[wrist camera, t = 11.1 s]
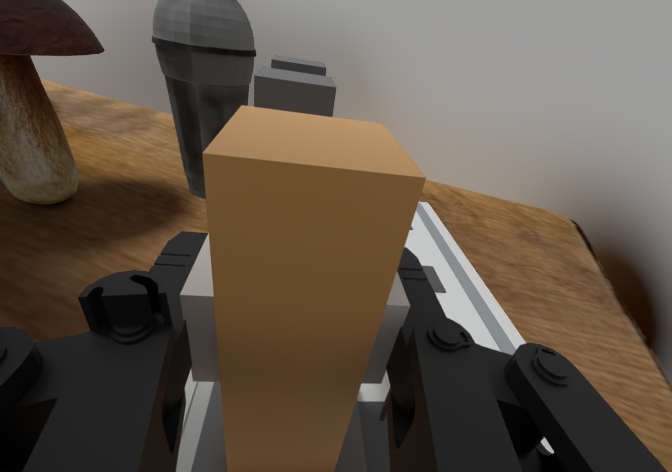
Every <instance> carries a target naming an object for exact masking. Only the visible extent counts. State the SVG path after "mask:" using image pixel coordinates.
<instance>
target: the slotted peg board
mask: <svg viewBox="0 0 672 472" xmlns="http://www.w3.org/2000/svg"><path fill="white" fill-rule="evenodd" d="M325 74H326V66H325V64H324V63H321V62H316V61H309V60H303V59H296V58H290V57H284V56H277V55H276V56H275V57H274V58H272V63H271V68H268V67H263V68H262V69H261V70H260V71H259V72H258V73H257V74H256V75H255V76H254V79H255V80H254V82H255V84H254V107H259V108H267V109H274V110H282V111H289V112H297V113H304V114H312V115H319V116H327V117H332V116H333V108H334V101H335V93H336V86H335V84H334V82H333V80H332V78H331V77H327V76H325ZM405 247H407V248H408V249H409V250H410V251H411V252H412V253H413V254H414V255H415V256H416V257H418V259H419V261H420V263H421V265H422V267H423V272H425V274H426V276H427V278H428V281H429V282H430V284H431V286H432V288H433V290H434V292H435V294H436V296H437V298H438V300H439V302H440V304H441V307H442V309H443V311H444V313H445V315H446V317H447V318H449V319H451V320H453V321H455V322H457V323H458V324H460V325H461V326H463V327H464V328H465V329H466V330H467V331H468V332H469V333H470V335H471V336H472V338H473V340H474V341H475V343H476V344H479V345H481V346H484V347H487V348H490V349H494V350H497V351H500V352H504V353H507V354H510V355H513V354H514V353H515V351H516V350H517V348H518V347H519V345H522V344H525V341H524V340H523V338H522V337H521V335H520V334H519V332H518V331H517V330H516V328H515V327H514V325H513V324H512V322H511V321H510V320H509V318H508V317H507V315H506V314H505V312H504V311H503V310H502V308H501V307H500V305H499V304H498V302H497V301H496V300H495V298H494V297H493V295H492V294H491V292H490V291H489V289H488V288H487V287H486V285H485V284H484V282H483V281H482V279H481V278H480V277H479V275H478V274H477V272H476V271H475V269H474V268H473V267H472V265H471V264H470V262H469V261H468V259H467V258H466V256H465V255H464V254H463V252H462V251H461V249H460V248H459V246H458V245H457V244H456V242H455V241H454V239H453V238H452V236H451V235H450V234H449V232H448V231H447V229H446V228H445V226H444V225H443V223H442V222H441V221H440V219H439V218H438V216H437V215H436V213H435V212H434V211H433V209H432V208H431V206H430V205H429V203H426V202H418V205H417V208H416V212H415V215H414V218H413V221H412V224H411V228H410V231H409V234H408V237H407V240H406V244H405ZM213 384H214V382H193V379H192V372H191V370H190V373H189V376H188V379H187V382H186V385H185V395H186V407H185V414H184V420H183V427H182V434H181V441H180V447H179V454H178V461H177V467H176V472H191V469H192V465H193V461H194V457H195V453H196V449H197V446H198V442H199V438H200V434H201V430H202V426H203V422H204V418H205V415H206V411H207V407H208V403H209V399H210V395H211V391H212V388H213ZM389 389H390V383H389V379H388V374H387V370H386V373H385V375H384V378H383V381H382V383H381V384H361V387H360V390H359V394H358V397H357V400H358V407H359V415H360V422H361V429H362V436H363V443H364V451H365V458H366V465H367V472H390V457H389V441H388V426H387V414H386V416H385V419H384V421H380V420H379V418H380V411H381V409H382V406H383V404H384V401H385V399H386V396H387V394H388V391H389ZM541 443H542V444H543V446H544V447H545V448H546V449H547V450H548V451H549V452H551V453H554V451H553V449H552V448H551V446H550V445H549V443H548V442H547V440H546V439H545V438H544V439H543V440H542V441H541Z"/></svg>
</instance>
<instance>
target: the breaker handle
mask: <svg viewBox="0 0 672 472" xmlns="http://www.w3.org/2000/svg"><path fill="white" fill-rule="evenodd" d="M203 166H204V179H205V192H206V205H207V218H208V231H209V243H210V256H211V269H212V282H213V295H214V308H215V321H216V333H217V346H218V359H219V372H220V382H214V384H213V388H212V391H211V395H210V399H209V403H208V407H207V411H206V415H205V418H204V422H203V426H202V430H201V434H200V438H199V442H198V446H197V449H196V453H195V457H194V461H193V465H192V469H191V472H367V465H366V458H365V451H364V443H363V436H362V429H361V422H360V415H359V407H358V400H357V397H358V394H359V390H360V387H361V384H362V381H363V378H364V374H365V371H366V368H367V365H368V362H369V358H370V355H371V352H372V349H373V346H374V342H375V339H376V336H377V333H378V330H379V327H380V323H381V320H382V317H383V314H384V311H385V307H386V304H387V301H388V298H389V295H390V291H391V288H392V285H393V282H394V279H395V275H396V272H397V269H398V266H399V263H400V260H401V256H402V253H403V250H404V247H405V244H406V240H407V237H408V234H409V231H410V228H411V224H412V221H413V218H414V215H415V212H416V208H417V205H418V202H419V199H420V196H421V192H422V189H423V186H424V183H425V180H426V177H425V176H424V175H423V173H422V172H421V171H420V170H419V168H418V167H417V166H416V165H415V163H414V162H413V161H412V160H411V158H410V157H409V156H408V155H407V153H406V152H405V151H404V150H403V148H402V147H401V146H400V145H399V143H398V142H397V141H396V140H395V138H394V137H393V136H392V135H391V133H390V132H389V131H388V130H387V128H386V127H385V126H384V125H383V124H379V123H372V122H364V121H356V120H349V119H342V118H334V117H327V116H319V115H312V114H304V113H297V112H289V111H282V110H274V109H267V108H259V107H252V106H244V105H241V107H240V108H239V109H238V110H237V112H236V113H235V114H234V115H233V116H232V118H231V119H230V120H229V121H228V123H227V124H226V125H225V126H224V127H223V129H222V130H221V131H220V132H219V134H218V135H217V136H216V137H215V138H214V140H213V141H212V142H211V143H210V145H209V146H208V147H207V148H206V149H205V151H204V152H203Z"/></svg>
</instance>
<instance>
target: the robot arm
mask: <svg viewBox="0 0 672 472" xmlns="http://www.w3.org/2000/svg"><path fill="white" fill-rule="evenodd" d="M78 299H79V302H80V304H81V307H82V309H83V312H84V315H85V317H86V320H87V323H88V325H89V328H90V330H91V331H90V332H86V333H82V334H79V335H75V336H70V337H65V338H59V339H54V340H49V341H44V342H39V343H34V341H33V339H32V338H31V336H30V335H29V334H28V333H27V331H24V330H21V329H18V328H14V327H6V328H0V472H176V467H177V461H178V454H179V447H180V441H181V434H182V427H183V420H184V414H185V407H186V395H185V385H186V382H187V379H188V376H189V373H190V370H191V372H192V379H193V382H220V372H219V359H218V346H217V333H216V321H215V308H214V295H213V282H212V269H211V256H210V243H209V233H197V232H184V231H182V232H181V233H179V234H178V235H177V236H175V237H174V238H172V239H171V240H169V241H168V242H167V244H166V246H165V247H164V249H163V250H162V252H161V255H160V256H158V258H157V260H156V261H155V263H154V266H152V267H151V269H150V271H149V272H147V271H135V270H133V271H126V272H118V273H115V274H112V275H109V276H106V277H103V278H101V279H99V280H98V281H96V282H94V283H93V284H91V285H89V286H88V287H87V288H86V289H85V290H84V291H83V292H82V293H81V294H80V295H79V296H78ZM386 370H387V374H388V379H389V383H390V389H389V391H388V394H387V396H386V399H385V401H384V404H383V406H382V409H381V411H380V418H379V420H380V421H384V419H385V416H386V414H387V426H388V441H389V457H390V472H667V470H666V469H665V468H664V467H663V466H662V465H661V464H660V463H659V461H658V460H657V459H656V458H655V457H654V456H653V455H652V453H651V452H650V451H649V450H648V449H647V448H646V447H645V445H644V444H643V443H642V442H641V441H640V440H639V439H638V437H637V436H636V435H635V434H634V433H633V432H632V431H631V430H630V428H629V427H628V426H627V425H626V424H625V423H624V422H623V420H622V419H621V418H620V417H619V416H618V415H617V414H616V412H615V411H614V410H613V409H612V408H611V407H610V406H609V404H608V403H607V402H606V401H605V400H604V399H603V398H602V397H601V395H600V394H599V393H598V392H597V391H596V390H595V389H594V387H593V386H592V385H591V384H590V383H589V382H588V381H587V379H586V378H585V377H584V376H583V375H582V374H581V373H580V371H579V370H578V369H577V368H576V367H575V366H574V365H573V364H572V363H571V362H570V361H568V360H567V359H566V358H565V357H564V356H562V355H561V354H559V353H558V352H556V351H554V350H553V349H551V348H548V347H546V346H543V345H540V344H535V343H525V344H522V345H519V347H518V348H517V350H516V351H515V353H514V354H513V355H510V354H507V353H504V352H500V351H497V350H494V349H490V348H487V347H484V346H481V345H479V344H476V343H475V341H474V340H473V338H472V336H471V335H470V333H469V332H468V331H467V330H466V329H465V328H464V327H463V326H461V325H460V324H458V323H457V322H455V321H453V320H451V319H449V318H447V317H446V315H445V313H444V311H443V309H442V307H441V304H440V302H439V300H438V298H437V296H436V294H435V292H434V290H433V288H432V286H431V284H430V282H429V281H428V278H427V276H426V274H425V272H423V267H422V265H421V263H420V261H419V259H418V257H416V256H415V255H414V254H413V253H412V252H411V251H410V250H409V249H408V248H407V247H404V250H403V253H402V256H401V260H400V263H399V266H398V269H397V272H396V275H395V279H394V282H393V285H392V288H391V291H390V295H389V298H388V301H387V304H386V307H385V311H384V314H383V317H382V320H381V323H380V327H379V330H378V333H377V336H376V339H375V342H374V346H373V349H372V352H371V355H370V358H369V362H368V365H367V368H366V371H365V374H364V378H363V381H362V384H381V383H382V381H383V378H384V375H385V373H386ZM544 438H545V439H546V440H547V442H548V443H549V445H550V446H551V448H552V449H553V451H554V453H551V452H549V451H548V450H547V449H546V448H545V447H544V446H543V444H542V443H541V441H542V440H543V439H544Z"/></svg>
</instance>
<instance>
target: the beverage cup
mask: <svg viewBox="0 0 672 472" xmlns="http://www.w3.org/2000/svg"><path fill="white" fill-rule="evenodd" d="M153 34H154V35H153V36H152V42H153V43H155V47H156V53H157V57H158V60H159V63H160V66H161V70H162V72H163V74H164V75H165V79H166V85H167V89H168V94H169V99H170V104H171V108H172V113H173V118H174V123H175V128H176V133H177V137H178V142H179V147H180V152H181V157H182V161H183V166H184V171H185V174H186V177H187V181H188V184H189V190H190V192H191V193H193V194H194V195H197V196H199V197H203V198H206V192H205V179H204V166H203V152H204V151H205V149H206V148H207V147H208V146H209V145H210V143H211V142H212V141H213V140H214V138H215V137H216V136H217V135H218V134H219V132H220V131H221V130H222V129H223V127H224V126H225V125H226V124H227V123H228V121H229V120H230V119H231V118H232V116H233V115H234V114H235V113H236V112H237V110H238V109H239V108H240V107H241V105H244V106H247V105H248V92H249V84H250V82H251V77H252V72H253V67H254V57H255V56H256V51H255V49H254V38H253V33H252V29H251V25H250V22H249V20H248V18H247V15H246V13H245V12H244V10H243V9H242V7H241V5H240V4H239V3H238V1H237V0H159V1H158V3H157V5H156V8H155V12H154V18H153Z"/></svg>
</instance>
